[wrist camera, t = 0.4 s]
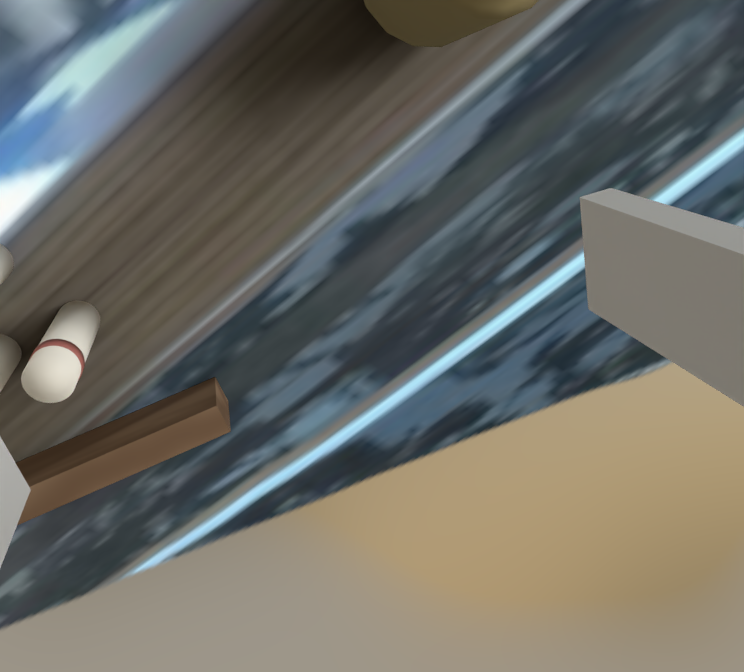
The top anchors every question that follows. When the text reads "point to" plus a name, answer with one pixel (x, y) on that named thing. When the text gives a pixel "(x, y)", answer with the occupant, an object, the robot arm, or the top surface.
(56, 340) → the pin
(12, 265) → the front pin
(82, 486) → the wall
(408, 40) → the squeeze bottle
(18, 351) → the pin
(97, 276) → the top surface
